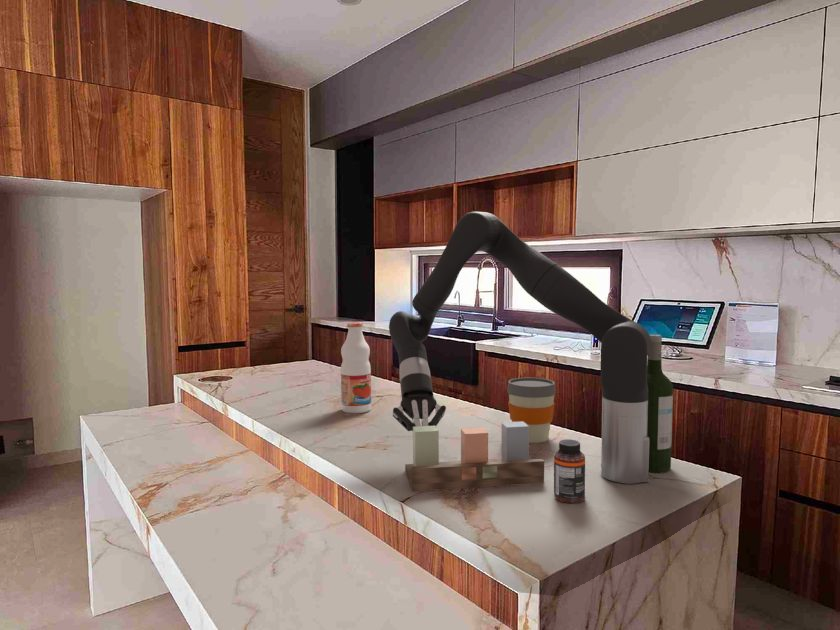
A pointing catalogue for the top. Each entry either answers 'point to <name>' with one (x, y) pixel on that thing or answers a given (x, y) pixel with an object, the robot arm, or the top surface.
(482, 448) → the terracotta key
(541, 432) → the reusable coffee cup
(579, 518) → the top surface
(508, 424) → the slate key
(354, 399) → the fruit juice
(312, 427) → the top surface
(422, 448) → the sage key
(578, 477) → the supplement bottle
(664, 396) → the wine bottle
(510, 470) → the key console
